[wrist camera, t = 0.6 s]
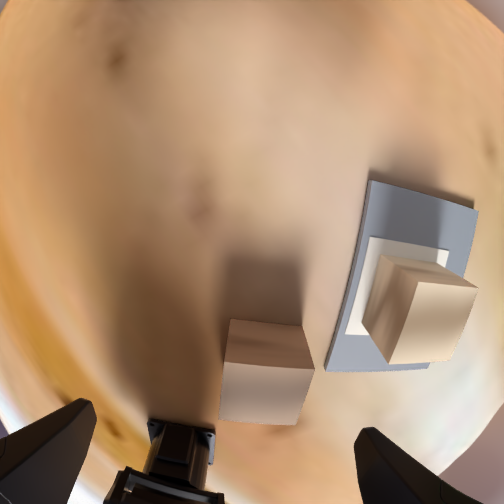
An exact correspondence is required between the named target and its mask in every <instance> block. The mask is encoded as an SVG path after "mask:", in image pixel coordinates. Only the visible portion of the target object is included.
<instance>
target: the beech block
mask: <svg viewBox="0 0 504 504" xmlns="http://www.w3.org/2000/svg"><path fill="white" fill-rule="evenodd" d="M478 289H479V288H478V287H476V286H474V285H473V284H471V283H470V282H468V281H466V280H465V279H463V278H462V277H460V276H458V275H457V274H455V273H453V272H451V271H450V270H448V269H446V268H445V267H443V266H441V265H440V264H438V263H435V262H428V261H422V260H416V259H409V258H402V257H396V256H389V255H383V254H380V257H379V261H378V265H377V269H376V273H375V277H374V281H373V285H372V288H371V292H370V295H369V299H368V302H367V306H366V309H365V312H364V316H363V319H362V322H361V323H362V325H363V326H364V328H365V329H366V331H367V332H368V334H369V335H370V337H371V338H372V340H373V341H374V343H375V344H376V346H377V347H378V349H379V351H380V352H381V354H382V355H383V357H384V358H385V360H386V362H387V363H388V364H411V363H426V362H438V361H449V360H450V358H451V356H452V354H453V352H454V350H455V348H456V346H457V343H458V341H459V339H460V336H461V334H462V332H463V329H464V327H465V324H466V322H467V319H468V317H469V314H470V312H471V309H472V306H473V303H474V301H475V298H476V295H477V292H478Z"/></svg>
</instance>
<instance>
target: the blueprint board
mask: <svg viewBox="0 0 504 504" xmlns="http://www.w3.org/2000/svg"><path fill="white" fill-rule="evenodd" d="M478 212H479V211H477V210H474V209H471V208H468V207H465V206H462V205H459V204H456V203H453V202H450V201H447V200H443V199H440V198H437V197H433V196H430V195H427V194H423V193H420V192H416V191H412V190H409V189H405V188H401V187H397V186H394V185H390V184H386V183H381V182H377V181H373V180H369V181H368V187H367V194H366V200H365V205H364V211H363V217H362V222H361V227H360V232H359V237H358V242H357V247H356V252H355V256H354V261H353V265H352V269H351V274H350V278H349V282H348V286H347V290H346V294H345V298H344V301H343V305H342V309H341V312H340V316H339V320H338V323H337V326H336V330H335V333H334V337H333V340H332V343H331V346H330V350H329V353H328V356H327V359H326V362H325V365H324V369H325V372H378V371H401V370H416V369H427V368H428V366H429V364H430V362H426V363H411V364H388V363H387V362H386V360H385V358H384V357H383V355H382V354H381V352H380V351H379V349H378V347H377V346H376V344H375V343H374V341H373V340H372V338H371V337H370V335H369V334H368V332H367V331H366V329H365V328H364V326H363V325H362V323H361V322H362V319H363V316H364V312H365V309H366V306H367V302H368V299H369V295H370V292H371V288H372V285H373V281H374V277H375V273H376V269H377V265H378V261H379V257H380V254H383V255H389V256H396V257H402V258H409V259H416V260H422V261H428V262H435V263H438V264H440V265H441V266H443V267H445V268H446V269H448V270H450V271H451V272H453V273H455V274H457V275H458V276H460V277H462V278H463V276H464V273H465V269H466V265H467V262H468V258H469V254H470V250H471V246H472V242H473V237H474V233H475V228H476V223H477V217H478Z"/></svg>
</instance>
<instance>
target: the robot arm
mask: <svg viewBox="0 0 504 504" xmlns="http://www.w3.org/2000/svg"><path fill="white" fill-rule="evenodd" d="M96 422H97V417H96V413H95V410H94V407H93V404H92V402H91V401H90V400H87V399H84V398H79V399H77V400H75V401H73V402H71V403H69V404H67V405H66V406H64V407H62V408H60V409H58V410H56V411H54V412H53V413H51V414H49V415H47V416H45V417H43V418H41V419H39V420H37V421H35V422H33V423H31V424H29V425H28V426H26V427H24V428H22V429H20V430H18V431H16V432H14V433H12V434H10V435H8V436H7V437H3V438H1V439H0V504H67V502H68V499H69V497H70V494H71V492H72V489H73V487H74V484H75V482H76V479H77V477H78V474H79V472H80V470H81V467H82V465H83V463H84V460H85V458H86V455H87V452H88V448H89V445H90V442H91V438H92V435H93V432H94V428H95V425H96ZM147 426H148V431H149V436H150V441H151V447H150V450H149V453H148V456H147V460H146V463H145V466H144V469H143V472H139V471H137V470H134V469H132V468H131V467H128V466H126V468H125V470H124V471H118V473H117V476H116V479H115V481H114V483H113V485H112V487H111V489H110V491H109V492H108V494H107V496H106V497H105V499H104V501H103V504H225V502H224V493H214V492H209V491H204V490H205V482H206V475H207V468H208V465H213V459H214V447H215V435H216V433H215V431H213V430H209V429H203V428H196V427H190V426H185V425H179V424H174V423H169V422H165V421H160V420H156V419H148V422H147ZM354 453H355V461H356V469H357V477H358V484H359V488H360V492H361V496H362V500H363V504H483V503H481V502H479V501H477V500H475V499H473V498H471V497H469V496H467V495H465V494H463V493H462V492H460V491H458V490H456V489H455V488H454V487H452V486H451V485H449V484H448V483H446V482H444V481H443V480H441V479H440V478H439V477H438V476H437V475H435V474H434V473H432V472H431V471H430V470H428V469H427V468H426V467H424V466H423V465H422V464H420V463H419V462H418V461H417V460H415V459H414V458H413V457H411V456H410V455H409V454H407V453H406V452H405V451H404V450H402V449H401V448H400V447H399V446H397V445H396V444H395V443H394V442H392V441H391V440H390V439H389V438H387V437H386V436H385V435H384V434H382V433H381V432H380V431H379V430H377V429H376V428H375V427H367V428H363V429H362V430H361V431H360V433H359V435H358V437H357V439H356V441H355V443H354ZM129 490H130V491H132V492H129Z"/></svg>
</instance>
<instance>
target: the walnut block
mask: <svg viewBox="0 0 504 504" xmlns="http://www.w3.org/2000/svg"><path fill="white" fill-rule="evenodd" d="M314 371H315V368H314V364H313V361H312V357H311V354H310V350H309V347H308V344H307V340H306V337H305V333H304V330H303V327H302V326H295V325H284V324H274V323H264V322H255V321H247V320H238V319H231V320H230V326H229V333H228V339H227V346H226V353H225V359H224V368H223V378H222V387H221V397H220V408H219V418H218V419H219V420H227V421H236V422H246V423H258V424H275V425H296V422H297V420H298V417H299V414H300V412H301V409H302V406H303V403H304V401H305V398H306V395H307V392H308V389H309V386H310V383H311V380H312V377H313V374H314Z"/></svg>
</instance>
